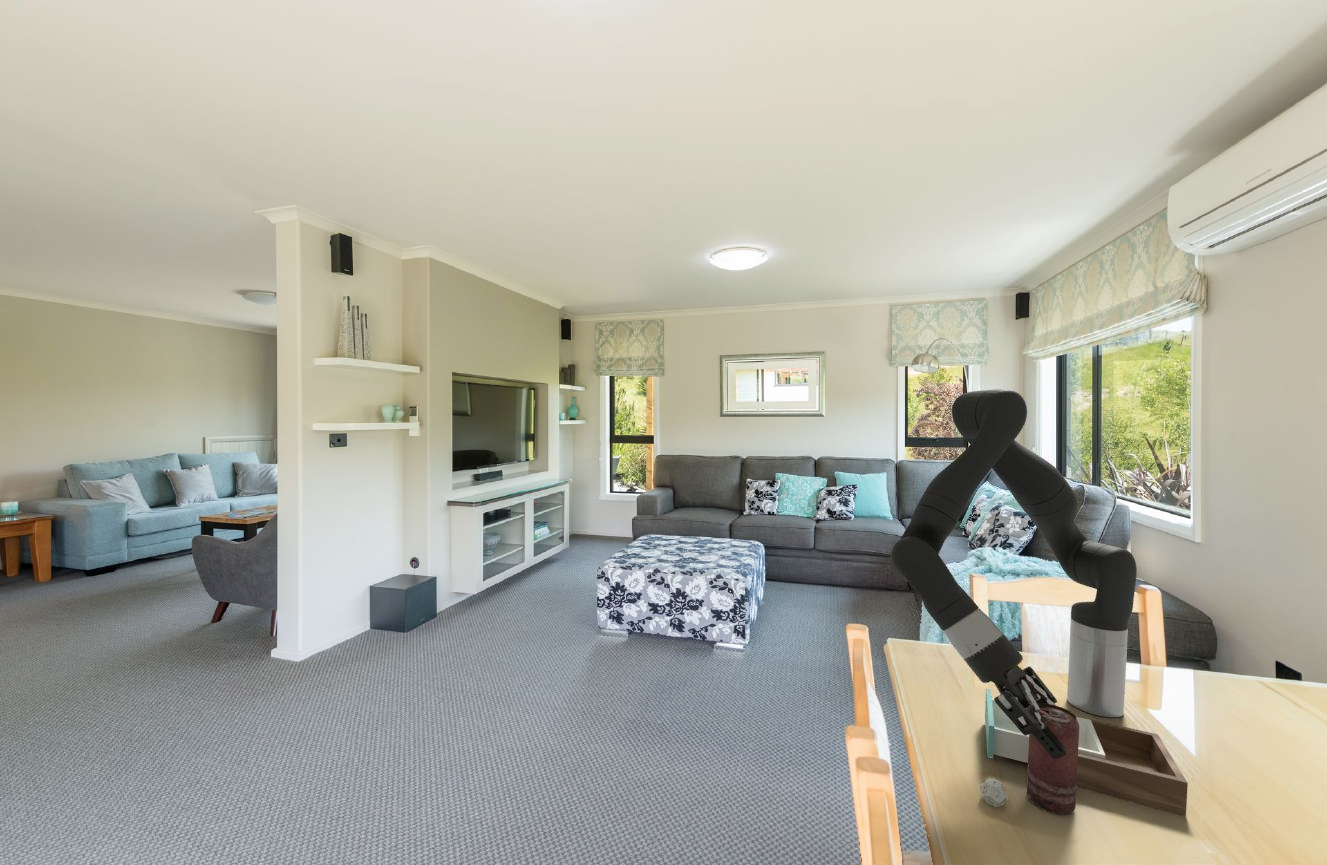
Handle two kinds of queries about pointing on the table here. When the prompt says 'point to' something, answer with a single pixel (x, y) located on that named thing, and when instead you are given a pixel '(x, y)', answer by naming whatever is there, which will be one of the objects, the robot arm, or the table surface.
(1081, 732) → the tray
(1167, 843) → the table surface
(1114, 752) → the tray stand
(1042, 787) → the can
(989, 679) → the robot arm
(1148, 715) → the table surface
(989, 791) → the game die
